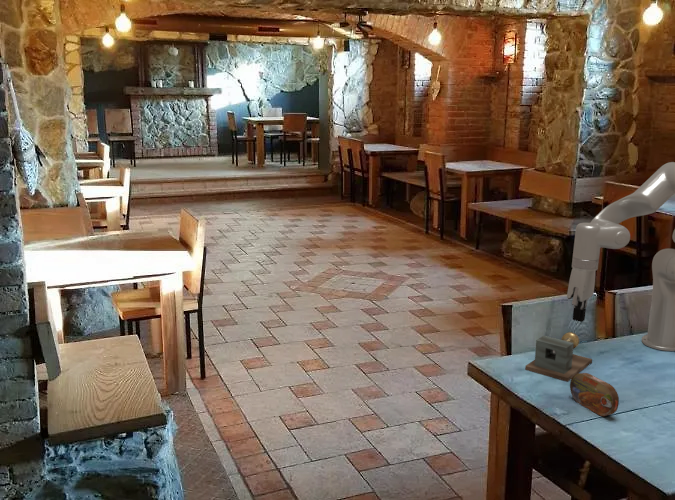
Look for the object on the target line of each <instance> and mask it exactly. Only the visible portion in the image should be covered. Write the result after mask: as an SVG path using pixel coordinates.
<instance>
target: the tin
mask: <svg viewBox="0 0 675 500" xmlns="http://www.w3.org/2000/svg"><path fill="white" fill-rule="evenodd" d="M569 381H570V382H569V389H570V393H571V396H572V397H573V399H574V401H575V402H576V403H577V404H579V405H580V406H582V407H584V408H586V409H587V410H589V411H591V412H593V413H594V414H596V415H598V416H601V417H607V416H612V415H613V414H615V413H616V412H617V411H618V408H619V401H620V398H619V397H620V396H619V393H618V391H617V390H616V389H615V387H614V386H613V385H612V384H611V383H608V382H606V381H605V380H603V379H600V378H598V377H596V376H595V375H593V374H590V373H587V372H580V373H577V374H575V375H574V376H573V377H572V379H571V380H569Z"/></svg>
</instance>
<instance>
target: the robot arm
mask: <svg viewBox="0 0 675 500" xmlns="http://www.w3.org/2000/svg"><path fill="white" fill-rule="evenodd" d="M674 195H675V162H674V161H671V162H667V163H665V164H663V165H661V166H660V167H659V168H658V169H657V170H656V171H655V172H654V173H653V174H652V175H651V176H650V177H649V178H648V179H647V180H646V181H645V182H643V183H642V185H640V186H639V187H638V188H637V189H636V190H635V191H634V192H632V193H630V194H628V195H626V196H624V197H621V198H620V199H617V200H615V201H614V202H611V203H610V204H608V205H606V207H604V208H603V209H601V211H599V213H598V214H596V215H595V217H594V218H592V220H591V221H590V222H580V223H578V224H577V225H576V227H575V233H574V234H575V235H574V243H573V251H572V252H573V253H572V262H571V268H572V269H571V272H570V277H569V281H568V287H567V292H566V293H567V294H566V298H567V299H568V300H572V301H571V305H572V306H573V310H572V312H573V313H572V320H573V321H576V322H581V323H583V322H584V321H585V320H586V313H587V309H586V308H587V306H588V300H589V299H590V298H591V297H592V296H593V295H594V291H595V285H596V271H598V269H599V260H600V254H601V248H603V249H605V248H606V249H612V250H619V249H622V248H624V247H625V246H627V245H628V244H629V242H630V240H631V233H630V230H628V228H627V227H625V226H624V225H622V224H621V223H623V222H624V221H627V220H629V219H631V218H634V217H635V218H636V217H641V216H646V215H651V214H653V213H656V212H657V211H658V210H659V209H660V208H661V207H662V206H663V205H664V204H665V203H666V202H667V201H668V200H670V199H671V198H672V197H673V196H674ZM671 237H672V240H673V242H674V243H675V228H674V230H673V232H672V236H671ZM651 271H652V279H653V280H652V291H651V292H652V294H651V299H650V310H649V317H648V324H647V325H648V327H647V328H648V329H647V334H644V335H643V336H642V337H641V343H642V344H643V345H645V346H646V347H649V348H652V349H654V350H659V351H665V352H675V248H663V249H661V250H659V251H657V252H656V254H655V255H654V256H653V259H652V263H651Z"/></svg>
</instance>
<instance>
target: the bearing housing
mask: <svg viewBox="0 0 675 500" xmlns="http://www.w3.org/2000/svg"><path fill="white" fill-rule="evenodd" d="M573 345H574V343H571V342H567V341H563V340H561V339H559V338H555V337H551V336H547V335H542V336H541V337H539V338H538V339H536V341H535V351H534V353H535V354H534V359H533V360H532V361H531V362H529V363H528V364H527V363H526V365H525V367H524V368H525V371H529V372H532V373H535V374H539V375H543V376H546V377H549V378H552V379H556V380H560V381H563V382H566V383H568V382H569V381H571V379H572V377H573V376H574V375H575V374H577V373H582V372H583V371H584V370H585V369H586V368H587V367H588V365H589V364H590V363H591V364H593V359H592V358H589V357H587V356H582V355H579V354H574V349H573ZM550 349H552V350H556V356H552V355H551V354H550V352H549V351H550ZM591 364H590V365H591ZM590 365H589V366H590ZM584 368H585V369H584Z"/></svg>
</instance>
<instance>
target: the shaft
mask: <svg viewBox="0 0 675 500" xmlns="http://www.w3.org/2000/svg"><path fill="white" fill-rule="evenodd" d="M560 340H563V341H567V342H571V343H574V345H573V350H574V349H575V348H578V346H579V345H580V337H579V336H578V335H577V334H576V333H574V332H572V331H568V332H566V333H565V334H563V335H562V337H561V339H560ZM549 352H550V354H551V355H552V356H556V350H552V349H550V351H549Z"/></svg>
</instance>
